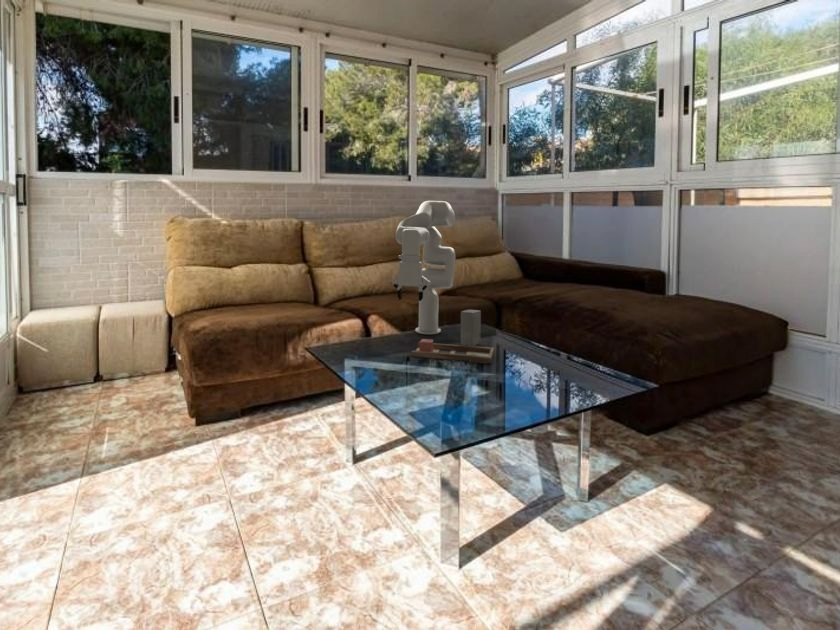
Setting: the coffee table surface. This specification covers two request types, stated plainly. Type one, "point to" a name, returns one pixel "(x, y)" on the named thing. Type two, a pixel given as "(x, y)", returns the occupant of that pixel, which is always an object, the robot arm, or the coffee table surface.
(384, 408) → the coffee table surface
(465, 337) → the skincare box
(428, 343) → the oxblood block
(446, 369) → the coffee table surface
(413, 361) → the coffee table surface
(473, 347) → the trap box
